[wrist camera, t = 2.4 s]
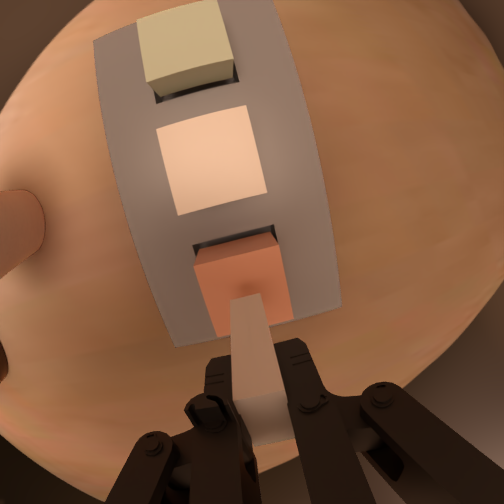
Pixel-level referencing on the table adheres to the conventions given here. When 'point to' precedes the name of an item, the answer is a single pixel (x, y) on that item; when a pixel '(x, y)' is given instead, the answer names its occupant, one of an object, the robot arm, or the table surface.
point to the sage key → (185, 47)
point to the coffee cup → (19, 228)
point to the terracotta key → (243, 278)
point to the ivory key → (211, 159)
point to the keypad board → (231, 213)
